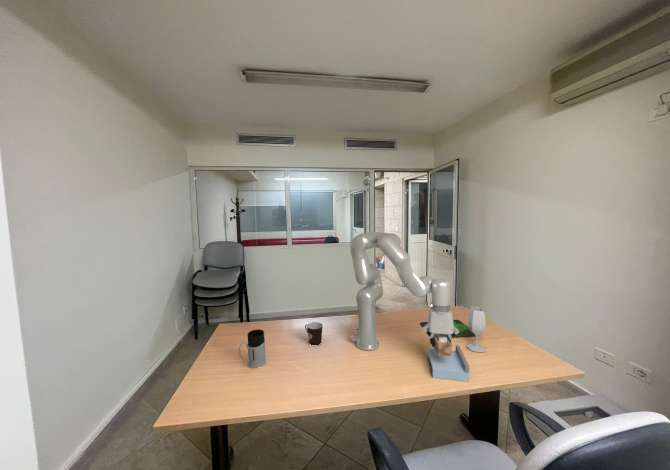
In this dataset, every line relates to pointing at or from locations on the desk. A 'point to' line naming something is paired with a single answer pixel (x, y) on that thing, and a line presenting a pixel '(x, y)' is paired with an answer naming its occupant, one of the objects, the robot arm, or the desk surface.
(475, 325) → the wineglass
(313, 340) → the coffee mug
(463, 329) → the mouse mat
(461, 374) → the shelf
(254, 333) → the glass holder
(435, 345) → the brown block with knobs
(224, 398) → the desk surface
